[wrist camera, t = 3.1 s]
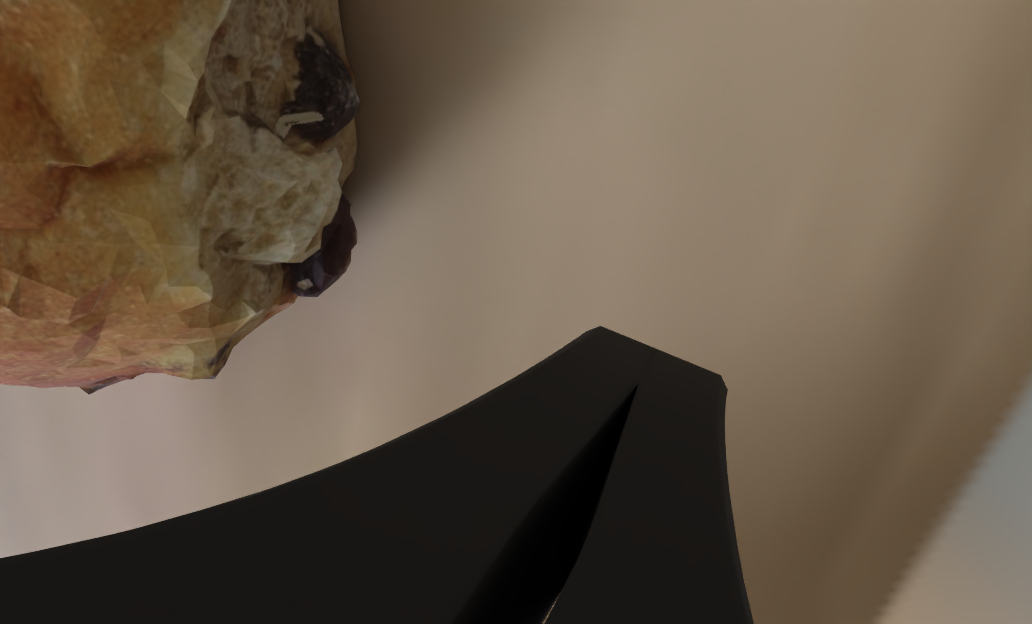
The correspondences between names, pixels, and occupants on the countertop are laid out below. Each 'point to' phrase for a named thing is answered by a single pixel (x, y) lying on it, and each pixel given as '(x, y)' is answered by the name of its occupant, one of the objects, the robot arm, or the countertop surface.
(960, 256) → the countertop surface
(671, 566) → the robot arm
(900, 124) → the countertop surface
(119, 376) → the bread roll
